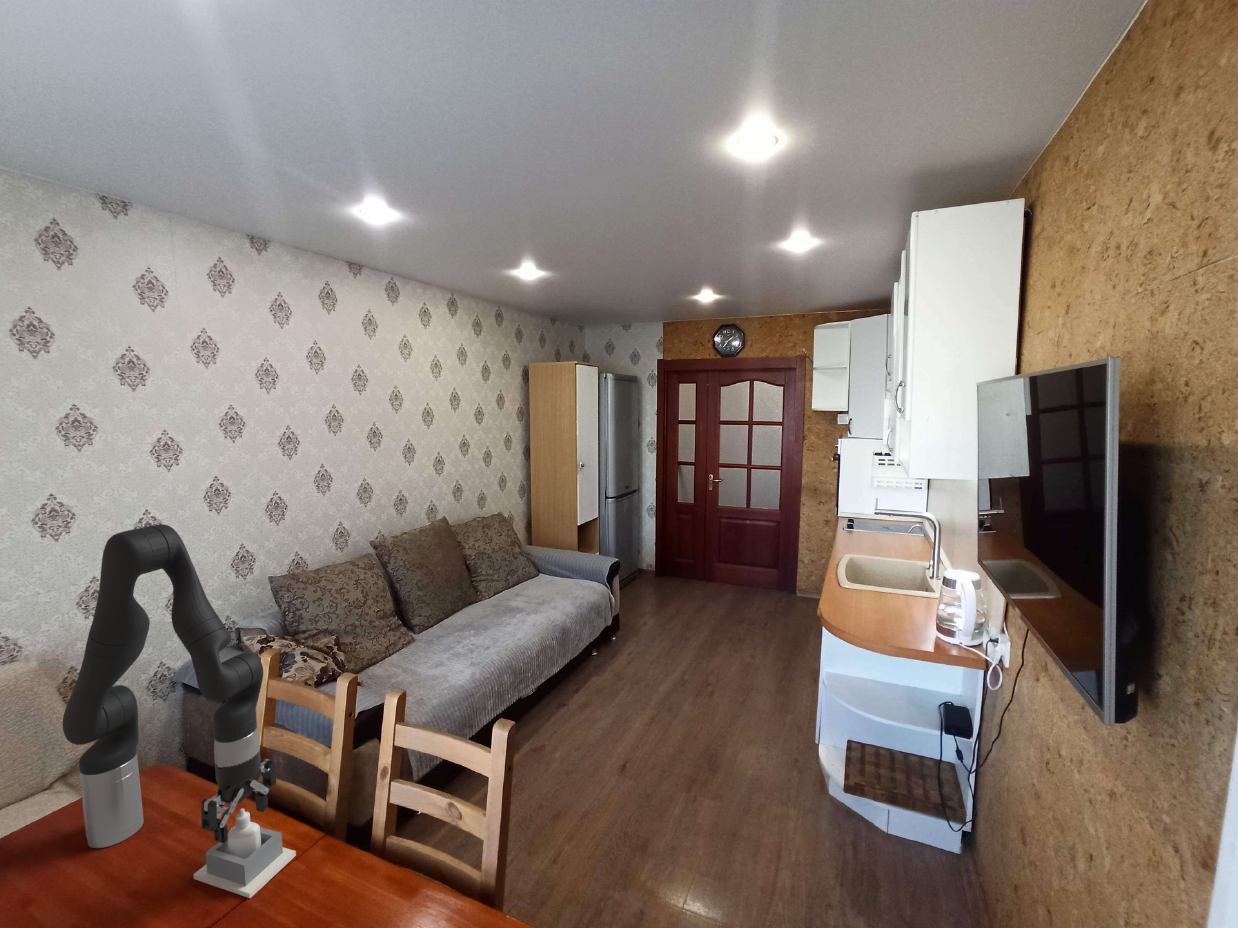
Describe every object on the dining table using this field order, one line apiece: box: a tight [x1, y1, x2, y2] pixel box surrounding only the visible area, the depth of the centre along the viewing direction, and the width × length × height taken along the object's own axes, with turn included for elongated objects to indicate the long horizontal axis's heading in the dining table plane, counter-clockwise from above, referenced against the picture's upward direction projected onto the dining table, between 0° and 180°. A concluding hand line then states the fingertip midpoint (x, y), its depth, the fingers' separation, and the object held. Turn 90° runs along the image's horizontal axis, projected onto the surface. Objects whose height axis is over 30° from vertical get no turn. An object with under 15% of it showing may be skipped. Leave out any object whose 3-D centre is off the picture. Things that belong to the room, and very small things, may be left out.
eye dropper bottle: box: [228, 808, 261, 859], centre depth 111 cm, size 4×6×12 cm
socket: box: [193, 826, 297, 899], centre depth 112 cm, size 15×10×6 cm
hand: (242, 825), depth 111 cm, fingers open, 8 cm apart
